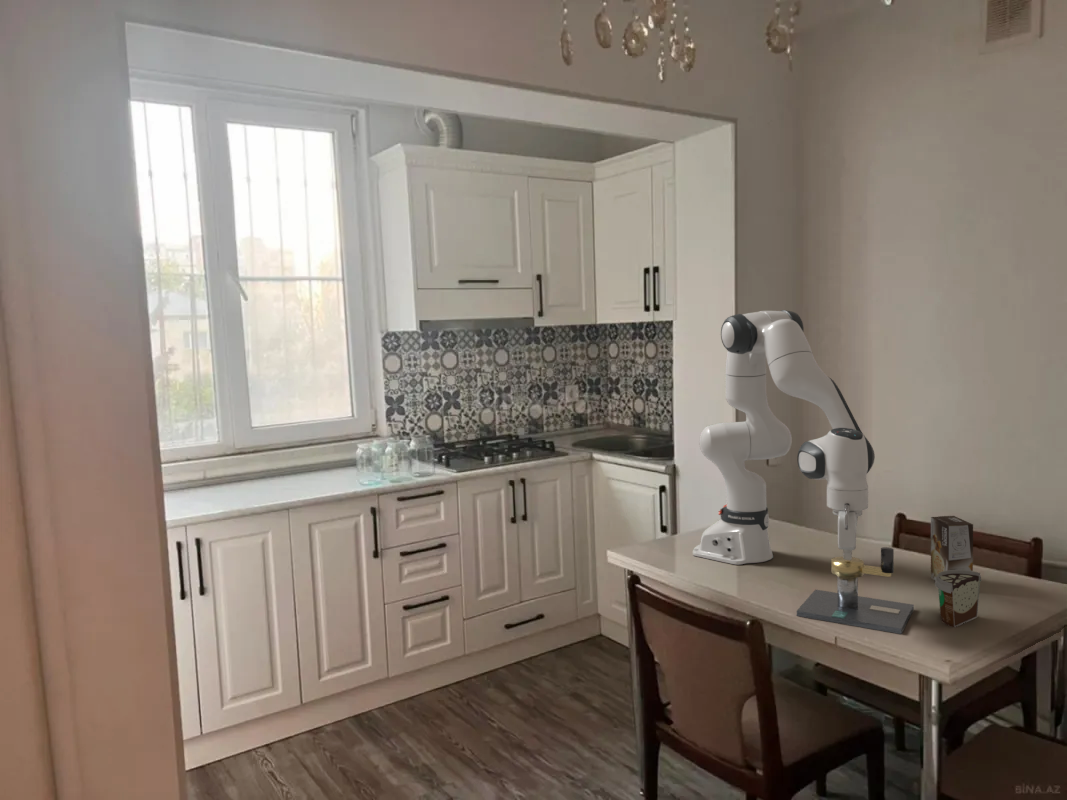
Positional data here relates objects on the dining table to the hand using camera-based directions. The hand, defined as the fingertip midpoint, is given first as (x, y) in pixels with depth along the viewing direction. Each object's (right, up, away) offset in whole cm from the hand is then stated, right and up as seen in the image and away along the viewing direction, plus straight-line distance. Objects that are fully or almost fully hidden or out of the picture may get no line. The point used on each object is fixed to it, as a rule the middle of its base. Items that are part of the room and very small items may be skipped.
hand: (847, 558), depth 180 cm
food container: (+21, -12, -6) cm, 25 cm away
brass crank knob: (+3, -4, -1) cm, 5 cm away
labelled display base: (+1, -12, -1) cm, 12 cm away
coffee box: (+32, -10, +16) cm, 37 cm away
